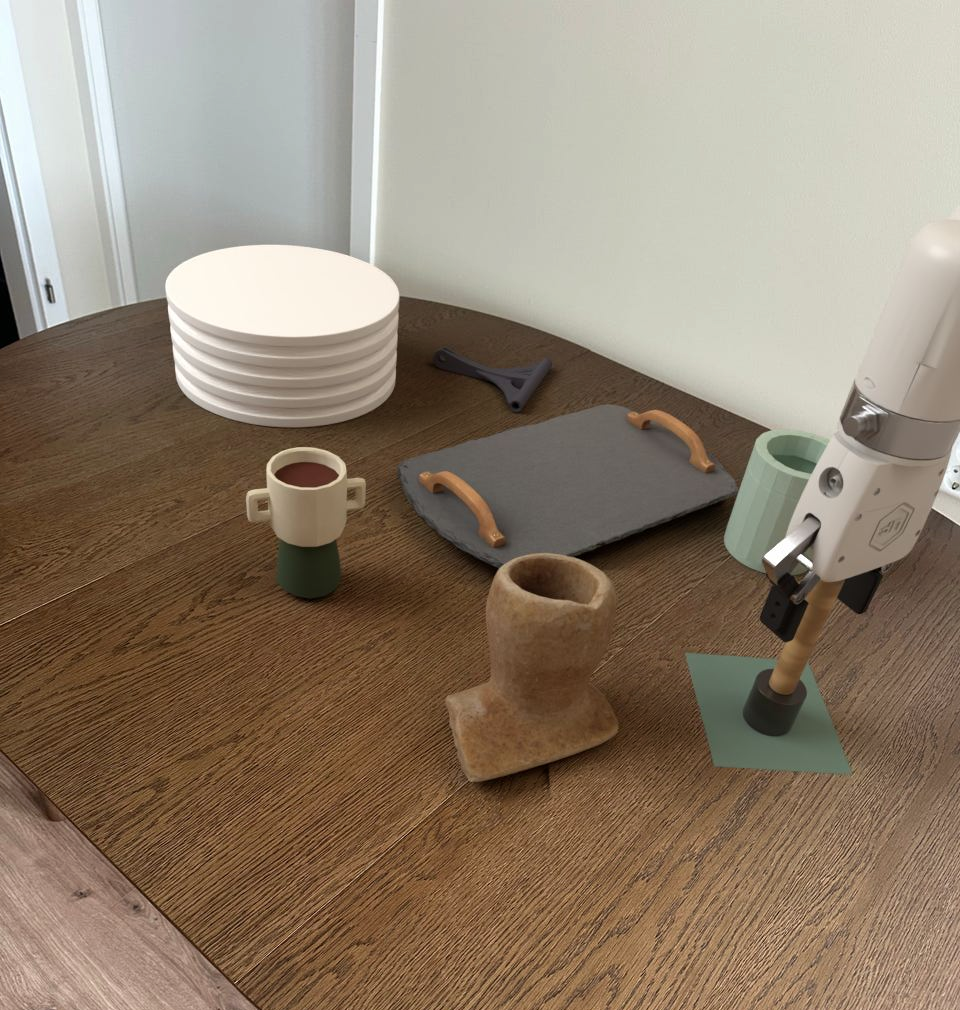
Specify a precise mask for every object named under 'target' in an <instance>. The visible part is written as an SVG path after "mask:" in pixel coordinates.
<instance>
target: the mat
mask: <svg viewBox="0 0 960 1010" xmlns="http://www.w3.org/2000/svg"><path fill="white" fill-rule="evenodd" d="M684 655H685V658H686V663H687V666H688V670H689V675H690V677H691V680H692V685H693V689H694V693H695V697H696V701H697V705H698V709H699V713H700V718H701V721H702V724H703V728H704V733H705V737H706V740H707V744H708V747H709V751H710V755H711V760H712V764H713V766H714V767H715V768H730V769H731V768H732V769H746V770H747V769H749V770H750V769H751V770H763V771H764V770H765V771H779V772H780V771H782V772H796V773H798V772H799V773H813V774H831V775H848V776H849V775H850V776H853V775H854V773H853V771H852V769H851V766H850V764H849V761H848V758H847V755H846V753H845V751H844V748H843V746H842V743H841V740H840V738H839V736H838V733H837V731H836V728H835V726H834V723H833V720H832V718H831V715H830V712H829V711H828V708H827V706H826V703H825V700H824V698H823V695H822V693H821V691H820V688H819V686H818V685H819V684H818V682H817V680H816V678H815V675H814V673H813V669H812V668H811V665H810V662H809V661H808V662H807V664H806V666H805V668H804V671H803V673H802V675H801V677H800V680H801V681H802V682H803V683H804V685H805V687H806V690H807V696H806V699H805V701H804V703H803V705H802V707H801V709H800V711H799V713H798V716H797V718H796V720H795V722H794V724H793V726H792V728H791V730H790V731H789V732H788V733H787V734H785V735H782V736H767V735H764V734H761V733H759V732H757V731H755V730H754V729H752V728H751V727H750V726H749V725H748V724H747V723H746V721H745V719H744V717H743V708H744V705H745V703H746V701H747V698H748V696H749V693H750V691H751V689H752V686H753V684H754V681H755V679H756V677H757V675H758V674H759V673H760V672H761V671H763V670H766V669H774V668H775V666H776V664H777V661H778V659H779V658H766V657H753V656H752V657H751V656H738V655H725V654H724V655H723V654H709V653H698V652H697V653H695V652H685V653H684Z"/></svg>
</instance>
